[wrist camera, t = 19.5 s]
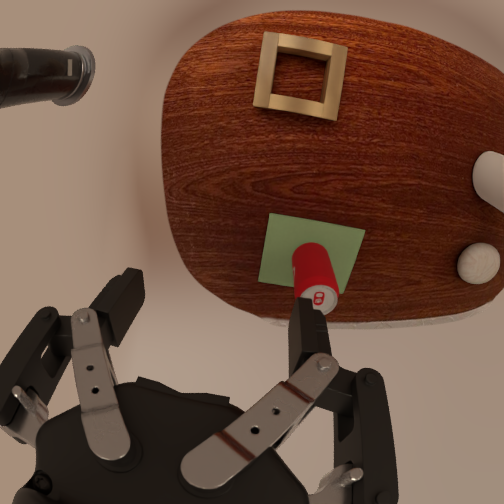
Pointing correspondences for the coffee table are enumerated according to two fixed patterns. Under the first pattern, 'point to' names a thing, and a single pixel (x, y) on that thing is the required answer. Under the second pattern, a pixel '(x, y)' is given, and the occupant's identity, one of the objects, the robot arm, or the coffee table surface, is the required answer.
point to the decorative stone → (478, 263)
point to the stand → (306, 48)
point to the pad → (304, 231)
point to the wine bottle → (490, 178)
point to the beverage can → (315, 276)
